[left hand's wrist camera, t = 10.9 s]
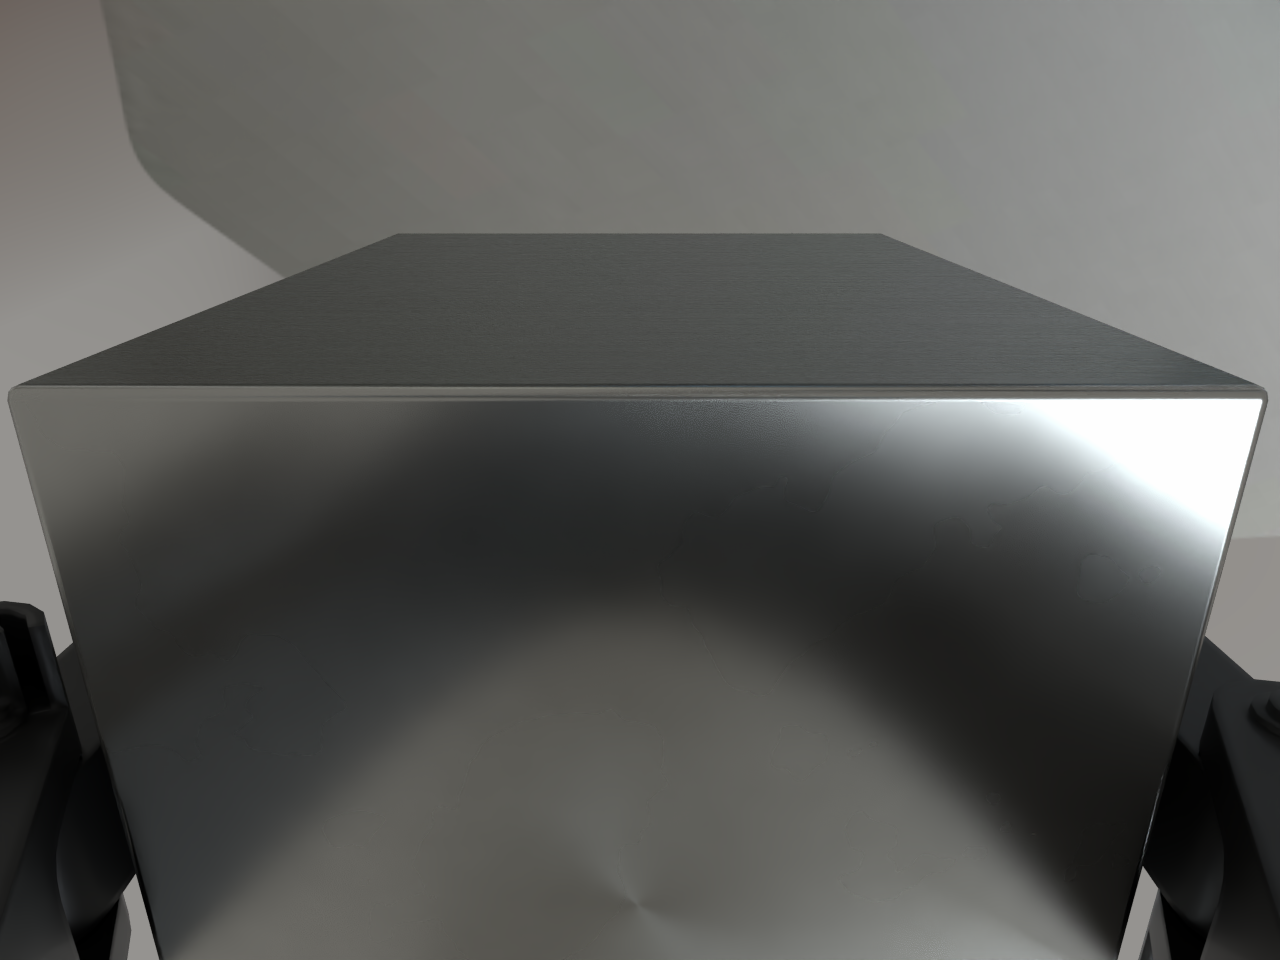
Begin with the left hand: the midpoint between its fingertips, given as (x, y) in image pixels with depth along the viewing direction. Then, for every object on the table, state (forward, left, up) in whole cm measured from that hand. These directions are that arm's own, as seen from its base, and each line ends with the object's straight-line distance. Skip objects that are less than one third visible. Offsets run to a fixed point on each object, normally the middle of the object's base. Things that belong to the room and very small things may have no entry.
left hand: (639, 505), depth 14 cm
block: (0, 0, -1) cm, 1 cm away
